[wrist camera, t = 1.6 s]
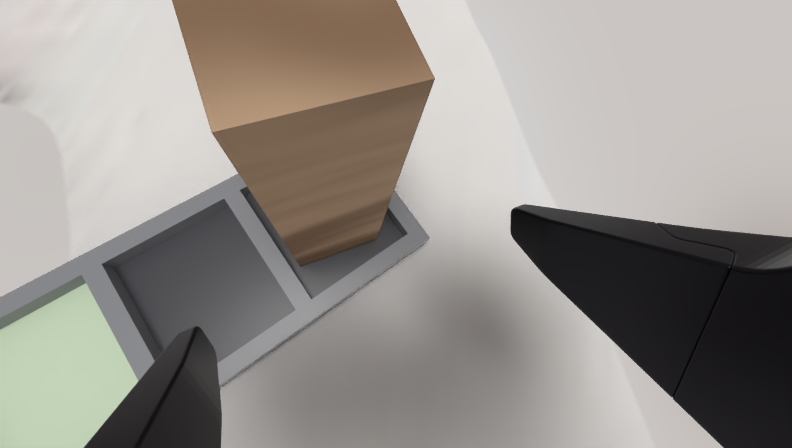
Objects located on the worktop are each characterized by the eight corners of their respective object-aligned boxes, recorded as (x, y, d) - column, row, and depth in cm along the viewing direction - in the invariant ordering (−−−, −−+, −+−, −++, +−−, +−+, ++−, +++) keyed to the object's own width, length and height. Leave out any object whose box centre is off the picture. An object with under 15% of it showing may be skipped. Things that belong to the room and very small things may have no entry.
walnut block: (375, 240, 22) (434, 78, 8) (300, 266, 21) (211, 132, 7) (349, 173, 23) (360, -72, 9) (276, 195, 22) (157, -49, 8)
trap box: (341, 132, 25) (341, 120, 23) (424, 243, 23) (429, 237, 22) (-74, 353, 17) (-112, 355, 16) (5, 538, 16) (-29, 559, 14)
